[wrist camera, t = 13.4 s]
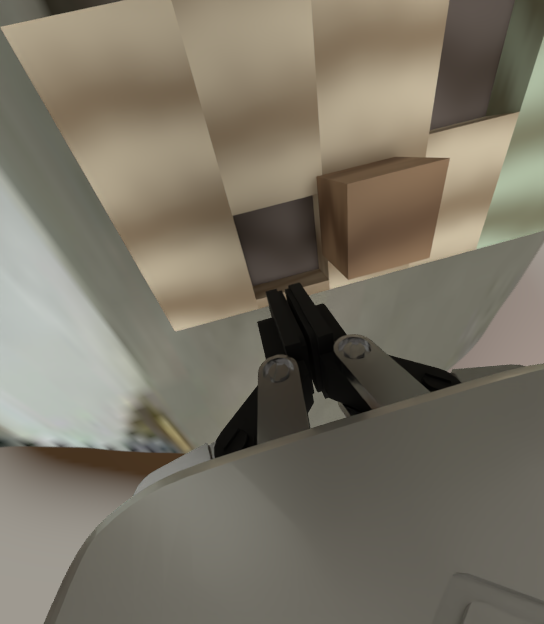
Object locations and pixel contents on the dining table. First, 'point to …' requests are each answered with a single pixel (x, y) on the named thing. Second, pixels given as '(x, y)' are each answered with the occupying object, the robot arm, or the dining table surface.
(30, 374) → the dining table surface
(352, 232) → the walnut block
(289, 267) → the trap deck
